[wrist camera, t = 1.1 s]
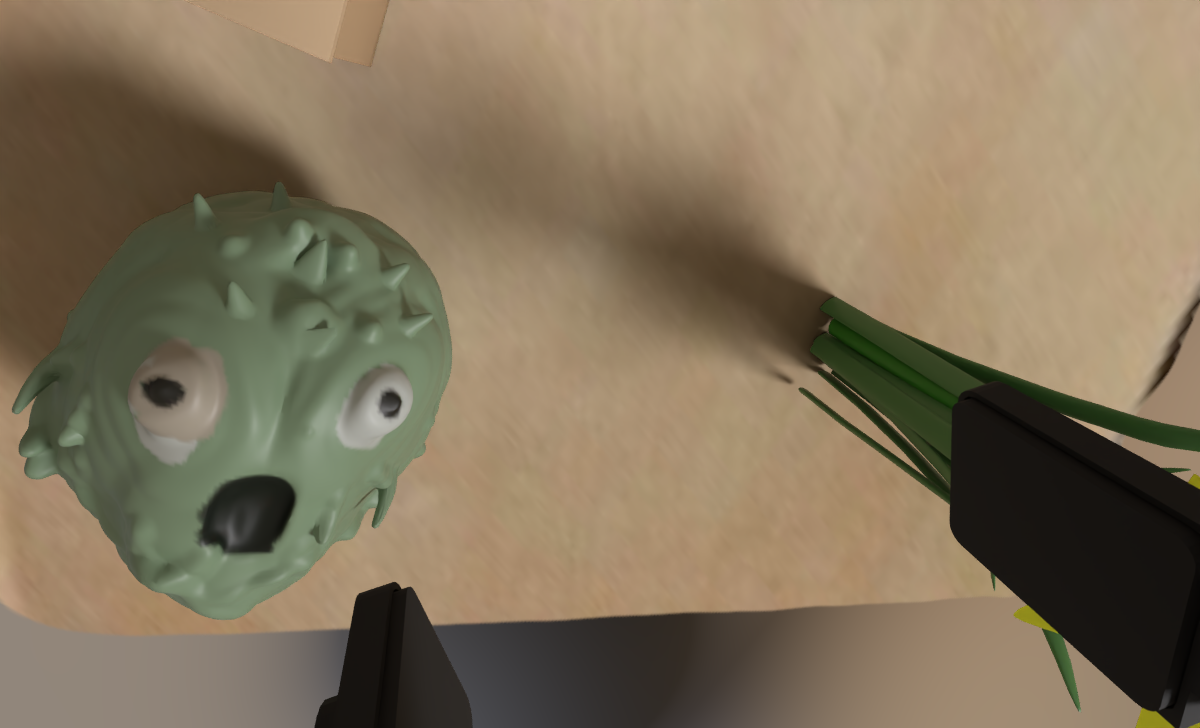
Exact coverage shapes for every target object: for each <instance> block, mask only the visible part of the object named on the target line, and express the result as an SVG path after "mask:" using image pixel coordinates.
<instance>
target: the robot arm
mask: <svg viewBox="0 0 1200 728" xmlns="http://www.w3.org/2000/svg"><path fill="white" fill-rule="evenodd" d="M950 527H951V530H952V533H953V535H954V537H955V538H956V540H957V541H958V542H959V543H960V544H961V545H962V546H963V547H964V548H965V549H966V550H967V551H968V552H969V553H971V554H972V555H973V556H974V557H975V558H976V559H977V560H978V561H979V562H980V563H982V564H983V565H984V566H985V567H986V568H987V569H988V570H989V571H990V572H992V573H993V574H994V575H995V576H996V577H997V578H998V579H999V580H1000V581H1001V582H1003V583H1004V584H1005V585H1006V586H1007V587H1008V588H1009V589H1010V590H1011V591H1013V592H1014V593H1015V594H1016V595H1017V596H1018V597H1019V598H1020V599H1021V600H1023V601H1024V602H1025V603H1026V604H1027V605H1028V606H1029V607H1030V608H1031V609H1032V610H1034V611H1035V612H1036V613H1037V614H1038V615H1039V616H1040V617H1041V618H1042V619H1043V620H1045V621H1046V622H1047V623H1048V624H1049V625H1050V626H1051V627H1052V628H1053V629H1055V630H1056V631H1057V632H1058V633H1059V634H1060V635H1061V636H1062V637H1063V638H1065V639H1066V640H1067V641H1068V642H1069V643H1070V644H1071V645H1073V647H1074V648H1076V649H1077V650H1078V651H1079V652H1080V653H1081V654H1082V655H1083V656H1084V657H1085V658H1087V659H1088V660H1089V661H1090V662H1091V663H1092V664H1093V665H1094V666H1095V667H1097V668H1098V669H1099V670H1100V671H1101V672H1102V673H1103V674H1104V675H1105V676H1107V677H1108V678H1109V679H1110V680H1111V681H1112V682H1113V683H1114V684H1115V685H1116V686H1118V687H1119V688H1120V689H1121V690H1122V691H1123V692H1124V693H1125V694H1126V695H1128V696H1129V697H1130V698H1131V699H1132V700H1133V701H1134V702H1135V703H1137V704H1138V705H1139V706H1141V707H1142V708H1144V709H1146V710H1148V711H1153V712H1155V711H1156V712H1157V713H1159V714H1160V715H1161V716H1162V717H1163V718H1164V719H1165V720H1166V721H1168V722H1169V723H1170V724H1171V725H1172V726H1173V727H1174V728H1188V727H1190V726H1193V725H1195V724H1198V723H1200V489H1199V488H1197V487H1195V486H1193V485H1191V484H1190V483H1188V482H1186V481H1184V480H1182V479H1180V478H1178V477H1177V476H1175V475H1173V474H1171V473H1169V472H1167V471H1166V470H1164V469H1162V468H1160V467H1158V466H1156V465H1155V464H1153V463H1151V462H1149V461H1147V460H1145V459H1143V458H1142V457H1140V456H1138V455H1136V454H1134V453H1132V452H1131V451H1129V450H1127V449H1125V448H1123V447H1121V446H1119V445H1118V444H1116V443H1114V442H1112V441H1110V440H1108V439H1107V438H1105V437H1103V436H1101V435H1099V434H1097V433H1095V432H1094V431H1092V430H1090V429H1088V428H1086V427H1084V426H1083V425H1081V424H1079V423H1077V422H1075V421H1073V420H1071V419H1070V418H1068V417H1066V416H1064V415H1062V414H1060V413H1059V412H1057V411H1055V410H1053V409H1051V408H1049V407H1047V406H1046V405H1044V404H1042V403H1040V402H1038V401H1036V400H1035V399H1033V398H1031V397H1029V396H1027V395H1025V394H1023V393H1022V392H1020V391H1018V390H1016V389H1014V388H1012V387H1011V386H1009V385H1007V384H1005V383H1002V382H1000V381H993V382H990V383H987V384H984V385H981V386H978V387H975V388H972V389H969V390H966V391H964V392H962V393H961V394H960V396H959V397H958V403H956V404H954V406H953V408H952V431H951V480H950ZM315 728H472V714H471V708H470V704H469V700H468V697H467V695H466V693H465V691H464V689H463V687H462V685H461V683H460V681H459V679H458V677H457V675H456V673H455V671H454V669H453V667H452V665H451V663H450V661H449V659H448V657H447V655H446V653H445V651H444V649H443V647H442V645H441V643H440V641H439V639H438V637H437V635H436V633H435V631H434V629H433V627H432V625H431V623H430V621H429V619H428V617H427V615H426V613H425V611H424V609H423V607H422V605H421V603H420V601H419V599H418V597H417V595H416V593H415V591H414V590H413V588H412V587H407V588H404V589H401V587H400V586H399V584H397V583H396V582H392V583H389V584H386V585H383V586H380V587H377V588H374V589H371V590H368V591H365V592H362V593H359V594H358V596H357V597H356V601H355V605H354V611H353V616H352V621H351V627H350V632H349V638H348V643H347V649H346V654H345V659H344V665H343V670H342V676H341V681H340V687H339V692H338V695H337V696H334V697H331V698H329V699H326V700H325V701H324V702H323V703H322V705H321V706H320V709H319V712H318V715H317V718H316V723H315Z"/></svg>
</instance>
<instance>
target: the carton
mask: <svg viewBox="0 0 1200 728" xmlns="http://www.w3.org/2000/svg"><path fill="white" fill-rule="evenodd" d="M388 4H389V0H348V2H347V6H346V9H345V13H344V17H343V21H342V25H341V29H340V32H339V36H338V40H337V44H336V48H335V52H334V55H333V57H334V58H338V59H342V60H346V61H350V62H354V63H358V64H362V65H366V66H370V67H371V64H372V61H373V57H374V54H375V50H376V46H377V43H378V39H379V36H380V32H381V29H382V25H383V21H384V18H385V14H386V11H387V7H388Z"/></svg>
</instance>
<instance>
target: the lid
mask: <svg viewBox="0 0 1200 728" xmlns="http://www.w3.org/2000/svg"><path fill="white" fill-rule="evenodd" d="M184 1H186V2H189V3H191V4H193V5H196V6H198V7H200V8H203V9H205V10H207V11H210V12H212V13H214V14H217V15H219V16H221V17H224V18H226V19H228V20H231V21H233V22H235V23H238V24H240V25H242V26H245V27H247V28H249V29H252V30H254V31H256V32H259V33H261V34H263V35H266V36H268V37H270V38H273V39H275V40H277V41H280V42H282V43H284V44H287V45H289V46H291V47H294V48H296V49H298V50H301V51H303V52H305V53H308V54H310V55H312V56H315V57H317V58H319V59H322V60H324V61H326V62H329V63H332V59H333V55H334V52H335V48H336V44H337V40H338V36H339V32H340V29H341V25H342V21H343V17H344V13H345V9H346V6H347V2H348V0H184Z"/></svg>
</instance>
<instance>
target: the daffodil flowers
mask: <svg viewBox="0 0 1200 728" xmlns="http://www.w3.org/2000/svg"><path fill="white" fill-rule="evenodd" d="M820 310H822V311H823V312H825V313H826V314H828V315H830V316H831V317H833V318H834V319H833V320H832V321H831V322H830V324H829V328H828V330H829V333H830V334H831V335H830V334H828V333H824V334H822V335H820V336H818V337H817V338H816V339H815V340H814V344H813V345H812V347H811V350H810V352H811V353H813V354H814V355H815V356H817V357H818V358H819V359H821V360H822V362H824V363H825V364H826V365H827V366H828V367H830V368H831V369H832V372H831V374H830V373H829V372H826V371H818V374H819V375H820V376H821V377H823V378H824V379H825V380H826V381H827V382H828V383H830V384H831V385H832V386H833V387H834V388H835V389H837V390H838V391H839V392H840V393H841V394H843V395H844V396H845V397H846V398H847V399H848V400H850V401H851V402H852V403H853V404H854V405H855V406H857V407H858V408H859V409H860V410H861V411H862V412H863V413H864V414H865V415H866V416H867V417H868V418H869V419H870V420H871V421H872V422H873V423H874V424H875V425H876V426H877V427H878V428H879V429H880V430H881V431H882V432H883V433H884V434H886V435H887V436H888V437H889V438H890V439H891V440H892V441H893V442H894V443H895V444H896V445H897V446H898V447H899V448H900V449H901V450H902V451H903V452H904V453H905V454H906V455H907V457H908V458H909V459H910V460H911V461H912V462H913V463H914V464H915V465H916V466H917V468H918V469H919V470H920V471H921V472H922V473H923V474H924V475H925V476H926V477H924V476H923V475H922V474H920V473H919V472H918V471H916V470H915V469H913V468H912V467H911V466H909V465H908V464H906V463H905V462H904V461H902V460H901V459H900V458H898V457H897V456H895V455H894V454H893V453H891V452H890V451H888V450H887V449H886V448H884V447H883V446H881V445H880V444H879V443H877V442H876V441H874V440H873V439H872V438H870V437H869V436H867V435H866V434H865V433H863V432H862V431H860V430H859V429H858V428H856V427H855V426H853V425H852V424H850V423H849V422H848V421H846V420H845V419H844V418H842V417H841V416H840V415H839V414H837V413H836V412H835V411H833V410H832V409H831V408H830V407H828V406H827V405H826V404H824V403H823V402H822V401H821V400H819V399H818V398H817V397H815V396H814V395H813V394H812V393H810V392H809V391H808V390H806V389H804V388H799V391H800V392H801V393H802V394H803V395H805V396H806V397H807V398H808V399H810V400H811V401H812V402H813V403H815V404H816V405H817V406H818V407H820V408H821V409H822V410H823V411H825V412H826V413H827V414H828V415H830V416H831V417H832V418H833V419H835V420H836V421H837V422H838V423H840V424H841V425H842V426H844V427H845V428H847V429H848V430H849V431H851V432H852V433H853V434H855V435H856V436H857V437H859V438H860V439H862V440H863V441H864V442H866V443H867V444H868V445H870V446H871V447H873V448H874V449H875V450H877V451H878V452H879V453H881V454H882V455H883V456H885V457H886V458H888V459H889V460H890V461H892V462H893V463H894V464H896V465H897V466H898V467H900V468H901V469H902V470H904V471H905V472H906V473H908V474H909V475H910V476H912V477H913V478H915V479H916V480H917V481H919V482H920V483H921V484H923V485H924V486H925V487H927V488H928V489H929V490H931V491H932V492H933V493H935V494H936V495H937V496H939V497H940V498H941V499H943V500H944V501H946V502H947V503H948V504H949V505H950V480H951V431H952V408H953V406H954V404H956V403H958V397H959V396H960V394H961V393H962V392H964V391H966V390H969V389H972V388H975V387H978V386H981V385H984V384H987V383H990V382H993V381H1000V382H1002V383H1005V384H1007V385H1009V386H1011V387H1012V388H1014V389H1016V390H1018V391H1020V392H1022V393H1023V394H1025V395H1027V396H1029V397H1031V398H1033V399H1035V400H1036V401H1038V402H1040V403H1042V404H1044V405H1046V406H1047V407H1049V408H1051V409H1053V410H1055V411H1057V412H1059V413H1061V414H1064V415H1067V416H1069V417H1072V418H1075V419H1078V420H1081V421H1084V422H1087V423H1090V424H1093V425H1096V426H1100V427H1103V428H1105V429H1108V430H1111V431H1114V432H1117V433H1120V434H1123V435H1126V436H1129V437H1132V438H1136V439H1138V440H1142V441H1145V442H1149V443H1153V444H1157V445H1160V446H1164V447H1169V448H1176V449H1183V450H1191V451H1197V452H1200V430H1196V429H1191V428H1185V427H1179V426H1174V425H1169V424H1164V423H1160V422H1156V421H1152V420H1148V419H1144V418H1140V417H1137V416H1134V415H1130V414H1127V413H1124V412H1121V411H1117V410H1114V409H1111V408H1108V407H1105V406H1102V405H1099V404H1095V403H1092V402H1089V401H1085V400H1082V399H1078V398H1075V397H1072V396H1069V395H1066V394H1063V393H1060V392H1057V391H1054V390H1051V389H1048V388H1045V387H1043V386H1040V385H1037V384H1034V383H1031V382H1029V381H1026V380H1023V379H1020V378H1018V377H1015V376H1012V375H1009V374H1006V373H1004V372H1001V371H998V370H995V369H993V368H990V367H987V366H984V365H981V364H979V363H976V362H973V361H970V360H968V359H965V358H962V357H959V356H957V355H954V354H952V353H950V352H947V351H945V350H943V349H940V348H938V347H935V346H933V345H931V344H928V343H926V342H924V341H921V340H919V339H917V338H914V337H912V336H909V335H907V334H905V333H902V332H900V331H898V330H895V329H893V328H891V327H889V326H887V325H885V324H883V323H881V322H879V321H877V320H876V319H874V318H872V317H870V316H869V315H867V314H865V313H863V312H862V311H860V310H858V309H856V308H855V307H853V306H851V305H849V304H847V303H846V302H844V301H842V300H840V299H839V298H837V297H833V298H831V299H829V300H828V301H826V302H825V303H824V304H823V305H822V306H821V308H820ZM833 336H834V337H833ZM832 374H833V375H834V376H835V377H837V378H838V379H839V380H840V381H842V382H843V383H844V384H846V385H847V386H848V387H849V388H851V389H852V390H853V391H855V392H856V393H857V394H858V395H860V396H861V397H862V398H864V399H865V400H866V401H867V402H869V403H870V404H871V405H872V406H874V407H875V408H876V409H877V410H879V411H880V412H881V413H882V414H883V415H885V416H886V417H887V418H888V419H890V420H891V421H892V422H893V423H894V424H895V425H896V427H897V428H898V429H899V430H900V431H901V432H902V433H903V434H904V435H905V436H906V437H907V438H908V439H909V440H910V442H911V443H912V444H913V445H914V446H915V447H916V448H917V449H918V450H919V451H920V452H921V453H922V454H923V455H924V456H925V458H926V459H927V460H928V461H929V462H930V463H931V464H932V465H933V466H934V467H935V468H936V469H937V471H938V472H939V473H940V474H941V475H942V476H943V477H942V476H941V475H940V474H939V473H938V472H937V471H936V470H935V469H934V468H933V467H932V466H931V465H930V463H929V462H928V461H927V460H926V459H925V458H924V457H923V456H922V455H921V454H920V453H919V452H918V451H917V450H916V449H915V448H914V447H913V446H912V445H911V444H910V443H909V442H908V441H907V440H906V439H905V438H903V437H902V436H901V435H900V434H899V433H898V432H897V431H896V430H895V429H894V428H893V427H892V426H891V425H890V424H889V423H888V422H886V421H885V420H884V419H883V418H882V417H881V416H880V415H879V414H878V413H877V412H876V411H875V410H874V409H873V408H872V407H870V406H869V405H868V404H867V403H866V402H864V401H863V400H862V399H861V398H860V397H858V396H857V395H856V394H855V393H853V392H852V391H851V390H850V389H849V388H847V387H846V386H845V385H844V384H843V383H841V382H840V381H839V380H838V379H836V378H835V377H834V376H833V375H832ZM1162 469H1164V470H1166V471H1167V472H1169V473H1175V472H1181V471H1189V470H1190V469H1184V468H1162ZM945 480H946V481H947V482H948V483H947V482H946V481H945ZM1188 483H1190V484H1191V485H1193V486H1195V487H1197V488H1199V489H1200V477H1199V476H1198V475H1196V474H1194V475H1193V476H1192V477H1191V479H1190V480H1189V482H1188ZM991 579H992V583H993V588H994V591H995V575H994V574H993V573H992V572H991ZM1014 616H1015V617H1016V618H1018V619H1020V620H1022V621H1024V622H1027V623H1029V624H1032V625H1035V626H1038V627H1040V628H1042V630H1043V632H1044V635H1045V637H1046V639H1047V641H1048V644H1049V646H1050V648H1051V651H1052V653H1053V655H1054V657H1055V659H1056V662H1057V664H1058V667H1059V669H1060V672H1061V674H1062V676H1063V679H1064V681H1065V684H1066V686H1067V689H1068V691H1069V693H1070V695H1071V697H1072V699H1073V701H1074V704H1075V706H1076V707H1077V709H1078V711H1079V712H1081V708H1080V703H1079V698H1078V692H1077V688H1076V683H1075V679H1074V674H1073V670H1072V665H1071V661H1070V658H1069V655H1068V652H1067V649H1066V646H1065V642H1064V639H1063V637H1062V636H1061V635H1060V634H1059V633H1058V632H1057V631H1056V630H1055V629H1053V628H1052V627H1051V626H1050V625H1049V624H1048V623H1047V622H1046V621H1045V620H1043V619H1042V618H1041V617H1040V616H1039V615H1038V614H1037V613H1036V612H1035V611H1034V610H1032V609H1031V608H1030V607H1029V606H1028V605H1026V606H1024V607H1022V608H1020V609H1018V610H1017V611H1016V612H1015V613H1014ZM1136 728H1174V727H1173V726H1172V725H1171V724H1170V723H1169V722H1168V721H1166V720H1165V719H1164V718H1163V717H1162V716H1161V715H1160V714H1159V713H1157V712H1156V711H1155V712H1153V711H1148V710H1146V709H1144V708H1142V710H1141V713H1140V716H1139V719H1138V722H1137V725H1136ZM1188 728H1200V723H1198V724H1195V725H1193V726H1190V727H1188Z"/></svg>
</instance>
